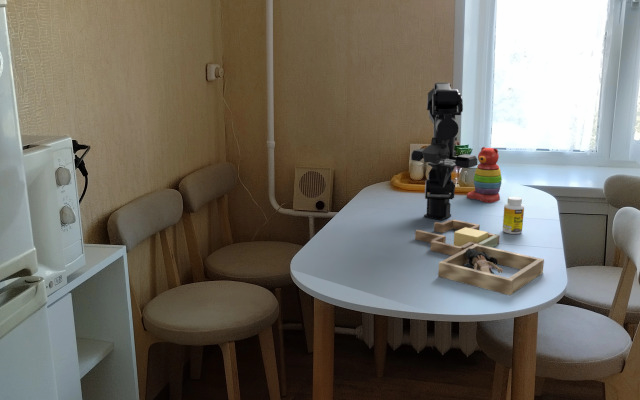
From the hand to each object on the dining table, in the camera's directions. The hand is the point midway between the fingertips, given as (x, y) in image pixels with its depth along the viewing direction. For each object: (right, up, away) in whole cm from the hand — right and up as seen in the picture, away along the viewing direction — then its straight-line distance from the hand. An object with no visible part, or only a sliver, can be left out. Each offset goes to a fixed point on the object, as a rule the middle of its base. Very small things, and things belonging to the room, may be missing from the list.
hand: (442, 187), depth 196 cm
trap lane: (+3, -15, -7) cm, 17 cm away
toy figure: (+4, -22, -32) cm, 39 cm away
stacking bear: (+22, -3, +40) cm, 46 cm away
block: (+6, -16, -10) cm, 20 cm away
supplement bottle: (+21, -13, +2) cm, 25 cm away
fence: (+6, -22, -32) cm, 39 cm away
